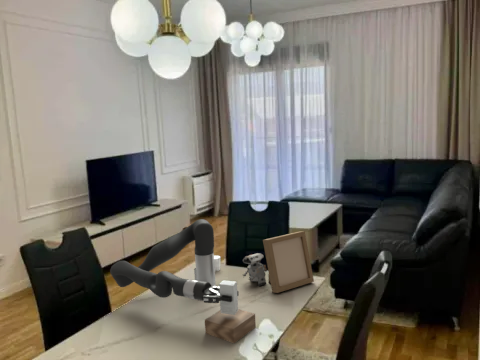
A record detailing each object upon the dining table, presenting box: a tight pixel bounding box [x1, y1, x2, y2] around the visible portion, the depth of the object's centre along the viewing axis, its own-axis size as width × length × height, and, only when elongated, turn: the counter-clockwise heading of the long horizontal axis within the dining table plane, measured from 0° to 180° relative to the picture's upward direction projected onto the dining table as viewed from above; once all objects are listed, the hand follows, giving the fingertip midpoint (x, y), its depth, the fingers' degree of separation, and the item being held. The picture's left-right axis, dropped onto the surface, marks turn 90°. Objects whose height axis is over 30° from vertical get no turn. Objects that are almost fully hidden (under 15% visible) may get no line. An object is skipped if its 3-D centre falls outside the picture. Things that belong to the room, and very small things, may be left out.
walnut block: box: [204, 308, 257, 344], centre depth 171 cm, size 14×14×6 cm
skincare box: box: [218, 280, 239, 315], centre depth 169 cm, size 6×4×12 cm
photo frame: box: [262, 230, 315, 294], centre depth 212 cm, size 15×22×25 cm
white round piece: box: [214, 254, 222, 272], centre depth 238 cm, size 7×7×7 cm
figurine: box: [242, 252, 268, 287], centre depth 215 cm, size 9×12×15 cm
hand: (234, 296), depth 168 cm, fingers closed on skincare box, 4 cm apart
